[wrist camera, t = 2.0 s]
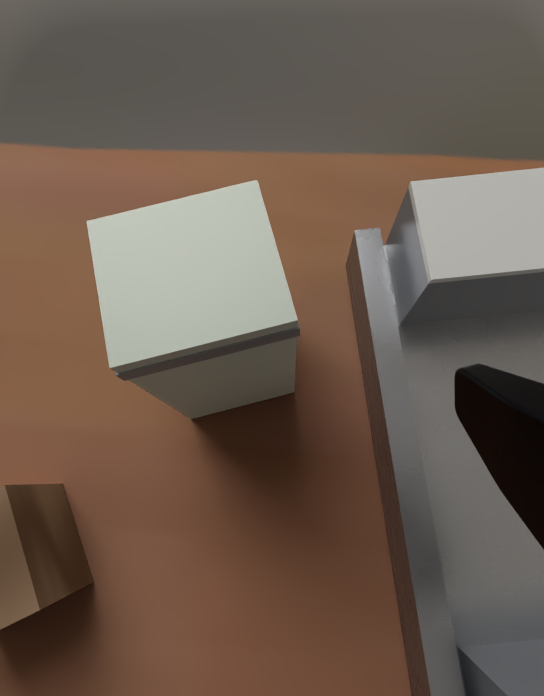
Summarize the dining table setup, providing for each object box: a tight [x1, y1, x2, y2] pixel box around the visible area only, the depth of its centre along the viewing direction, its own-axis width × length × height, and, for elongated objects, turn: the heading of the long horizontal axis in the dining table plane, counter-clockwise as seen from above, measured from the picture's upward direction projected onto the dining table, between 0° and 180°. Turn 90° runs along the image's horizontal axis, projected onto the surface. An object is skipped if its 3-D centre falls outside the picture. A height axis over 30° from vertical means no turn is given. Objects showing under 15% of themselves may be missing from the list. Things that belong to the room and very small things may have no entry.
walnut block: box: [0, 484, 94, 629], centre depth 16 cm, size 4×4×4 cm
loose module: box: [87, 180, 300, 419], centre depth 15 cm, size 4×5×9 cm
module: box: [385, 168, 544, 325], centre depth 17 cm, size 4×8×4 cm, turn 95°
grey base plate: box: [346, 228, 544, 696], centre depth 17 cm, size 19×10×3 cm, turn 5°
